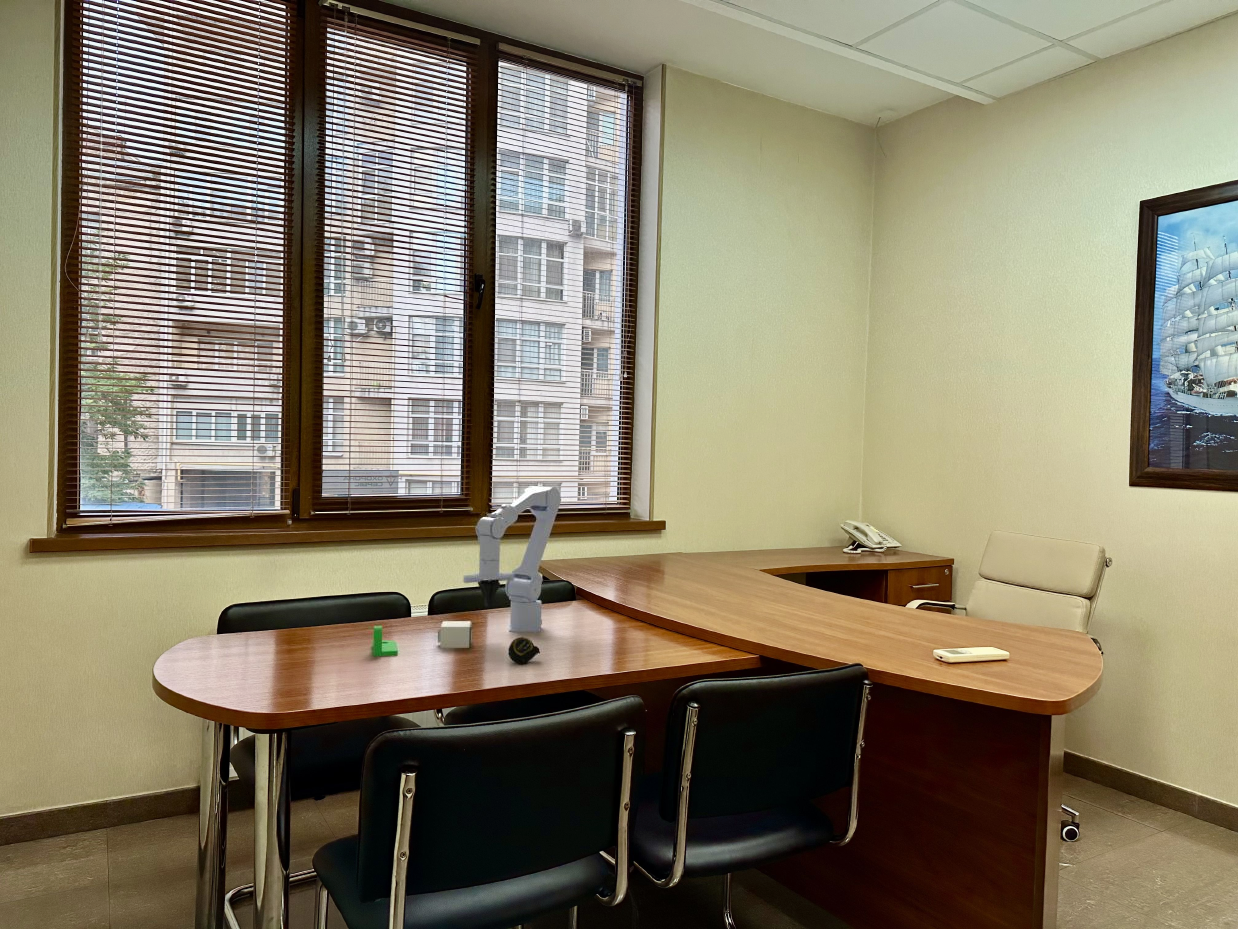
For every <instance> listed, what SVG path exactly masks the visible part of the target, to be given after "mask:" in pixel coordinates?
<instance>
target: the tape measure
mask: <svg viewBox="0 0 1238 929" xmlns="http://www.w3.org/2000/svg"><path fill="white" fill-rule="evenodd" d="M507 649H508V650H507V651H508V652H507V653H508V654H507V655H508V657H509V659H510V660H511V661H512V662H513V663H515V664H517V665H519V666H525V665H527V664H528V663H529V662H530V661H531V660H532V659H534V658H535V656H537V655H538V654H539V655H540V654H541V651H540V648H539V647H538V646H537V645H535V644H534V642H533V641H532V640H531V639H529V638H527V637H523V636H521V637H516V638H514V639H513V640H512V641H511V643H510V645H509V646H508V648H507Z"/></svg>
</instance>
